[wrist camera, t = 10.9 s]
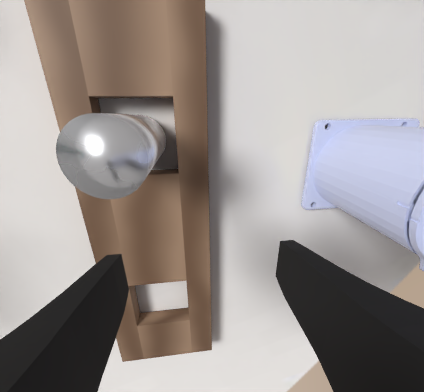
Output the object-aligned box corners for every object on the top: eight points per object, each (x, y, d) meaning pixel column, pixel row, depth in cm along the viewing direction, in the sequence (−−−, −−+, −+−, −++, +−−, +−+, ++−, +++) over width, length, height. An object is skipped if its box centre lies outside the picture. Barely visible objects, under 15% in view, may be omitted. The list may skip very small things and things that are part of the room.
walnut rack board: (203, 8, 13) (204, -4, 12) (210, 337, 25) (211, 349, 24) (39, 1, 12) (20, -13, 11) (126, 347, 24) (122, 361, 23)
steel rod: (165, 116, 15) (146, 116, 8) (166, 163, 17) (149, 200, 9) (116, 113, 15) (47, 109, 8) (120, 161, 16) (65, 198, 9)
